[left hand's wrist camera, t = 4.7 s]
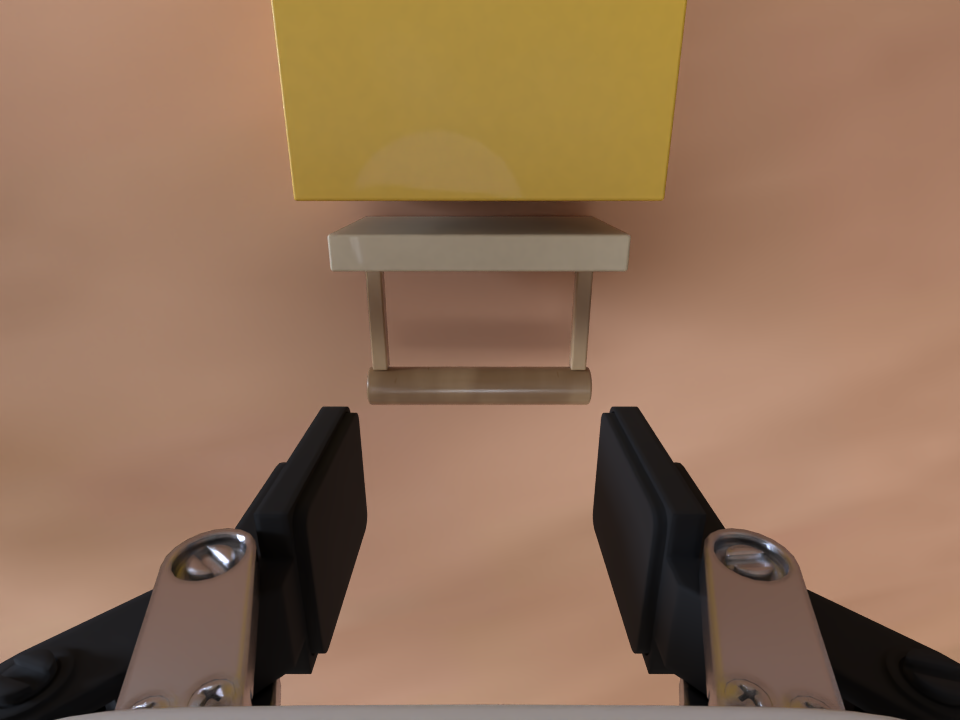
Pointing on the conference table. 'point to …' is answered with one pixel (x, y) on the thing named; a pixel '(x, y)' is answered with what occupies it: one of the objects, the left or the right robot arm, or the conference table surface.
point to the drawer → (479, 249)
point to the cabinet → (479, 98)
